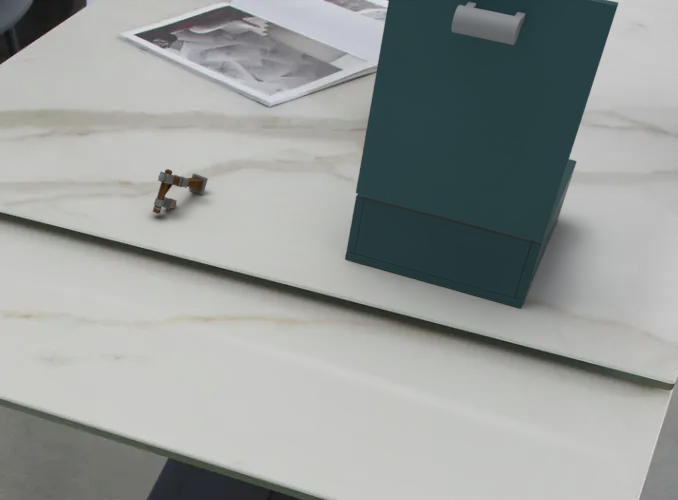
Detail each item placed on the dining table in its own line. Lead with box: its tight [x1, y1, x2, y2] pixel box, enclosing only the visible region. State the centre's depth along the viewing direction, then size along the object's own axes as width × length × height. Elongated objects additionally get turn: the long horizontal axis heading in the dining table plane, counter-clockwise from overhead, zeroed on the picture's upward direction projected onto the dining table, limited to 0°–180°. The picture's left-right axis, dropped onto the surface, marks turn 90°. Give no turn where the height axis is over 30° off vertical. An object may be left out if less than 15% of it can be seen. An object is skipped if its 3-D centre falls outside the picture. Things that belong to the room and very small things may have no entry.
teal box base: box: [344, 158, 577, 309], centre depth 105 cm, size 20×18×7 cm
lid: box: [355, 0, 619, 242], centre depth 87 cm, size 21×18×5 cm
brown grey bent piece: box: [152, 168, 209, 215], centre depth 108 cm, size 2×8×4 cm, turn 145°
